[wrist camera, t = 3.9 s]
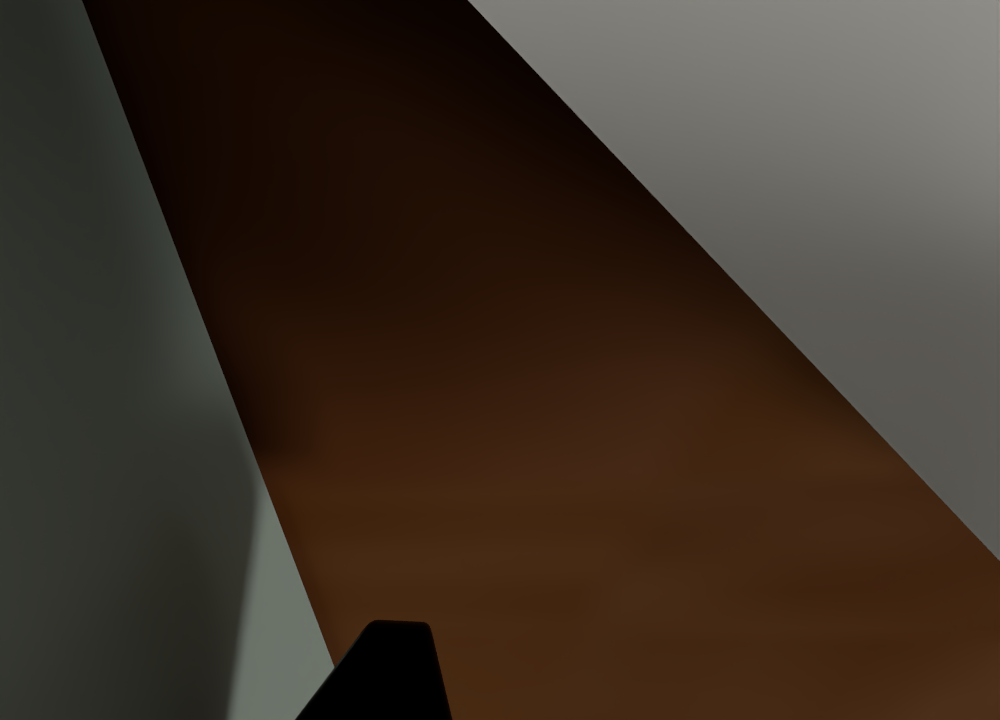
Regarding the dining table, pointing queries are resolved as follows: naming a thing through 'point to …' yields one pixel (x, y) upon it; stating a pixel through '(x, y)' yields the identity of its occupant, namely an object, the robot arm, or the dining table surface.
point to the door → (121, 432)
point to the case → (822, 187)
